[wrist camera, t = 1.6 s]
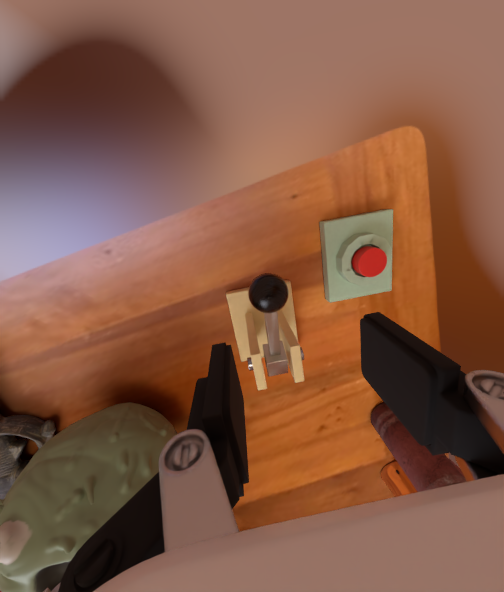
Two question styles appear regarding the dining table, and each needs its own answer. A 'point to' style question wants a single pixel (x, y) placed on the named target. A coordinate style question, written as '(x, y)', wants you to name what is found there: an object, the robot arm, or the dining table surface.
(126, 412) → the green rock
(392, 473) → the beer glass
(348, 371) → the dining table surface
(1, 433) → the grey toy shark
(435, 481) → the can
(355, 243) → the grey button base
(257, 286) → the switch lever
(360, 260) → the console button
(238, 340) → the switch bracket
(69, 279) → the dining table surface
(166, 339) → the dining table surface
